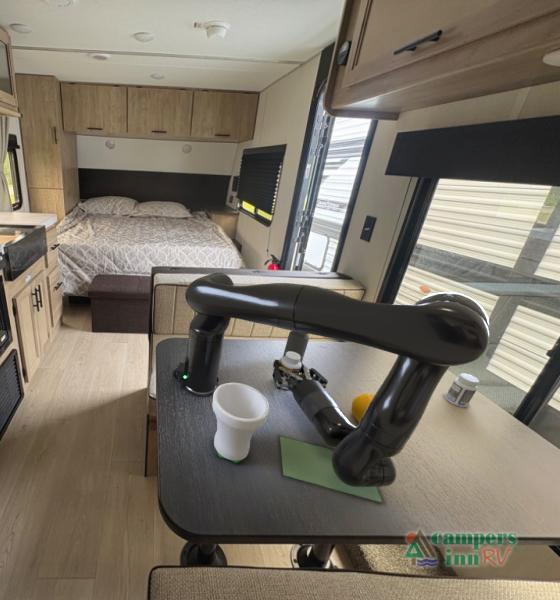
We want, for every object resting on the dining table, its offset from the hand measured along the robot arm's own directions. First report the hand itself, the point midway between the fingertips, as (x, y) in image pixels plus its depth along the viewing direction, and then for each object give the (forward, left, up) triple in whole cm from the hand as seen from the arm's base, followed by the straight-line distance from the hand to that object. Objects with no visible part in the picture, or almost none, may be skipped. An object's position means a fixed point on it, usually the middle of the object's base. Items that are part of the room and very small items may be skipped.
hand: (285, 362), depth 89 cm
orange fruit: (+20, -10, -6) cm, 23 cm away
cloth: (+7, -28, -6) cm, 30 cm away
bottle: (+4, +10, -6) cm, 12 cm away
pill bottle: (+48, +7, -6) cm, 49 cm away
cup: (-13, -30, -6) cm, 34 cm away
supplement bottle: (+1, -2, -6) cm, 7 cm away
